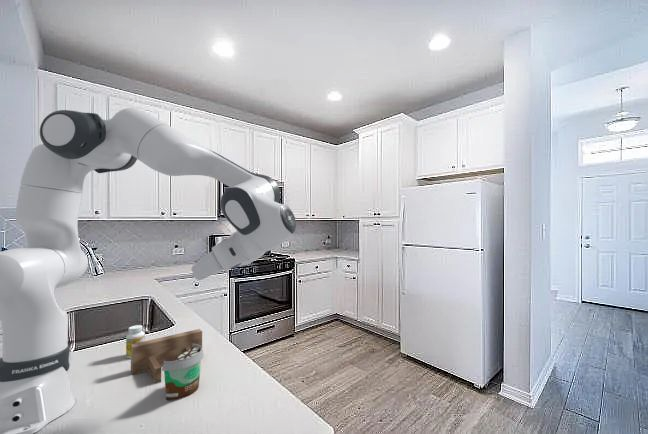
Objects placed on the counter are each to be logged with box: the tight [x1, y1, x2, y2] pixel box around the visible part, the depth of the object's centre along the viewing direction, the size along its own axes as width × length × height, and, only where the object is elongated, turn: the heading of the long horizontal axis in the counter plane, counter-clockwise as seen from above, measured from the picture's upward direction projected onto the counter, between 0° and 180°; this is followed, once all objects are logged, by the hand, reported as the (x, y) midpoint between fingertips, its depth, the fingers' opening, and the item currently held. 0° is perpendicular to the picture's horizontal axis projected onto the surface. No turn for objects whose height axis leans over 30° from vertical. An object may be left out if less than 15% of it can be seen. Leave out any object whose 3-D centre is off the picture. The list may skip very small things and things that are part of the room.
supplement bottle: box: [125, 324, 146, 360], centre depth 100 cm, size 5×5×10 cm
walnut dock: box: [130, 328, 203, 384], centre depth 91 cm, size 20×13×8 cm, turn 131°
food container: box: [161, 344, 205, 401], centre depth 78 cm, size 12×6×10 cm, turn 168°
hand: (208, 269), depth 81 cm, fingers open, 8 cm apart
